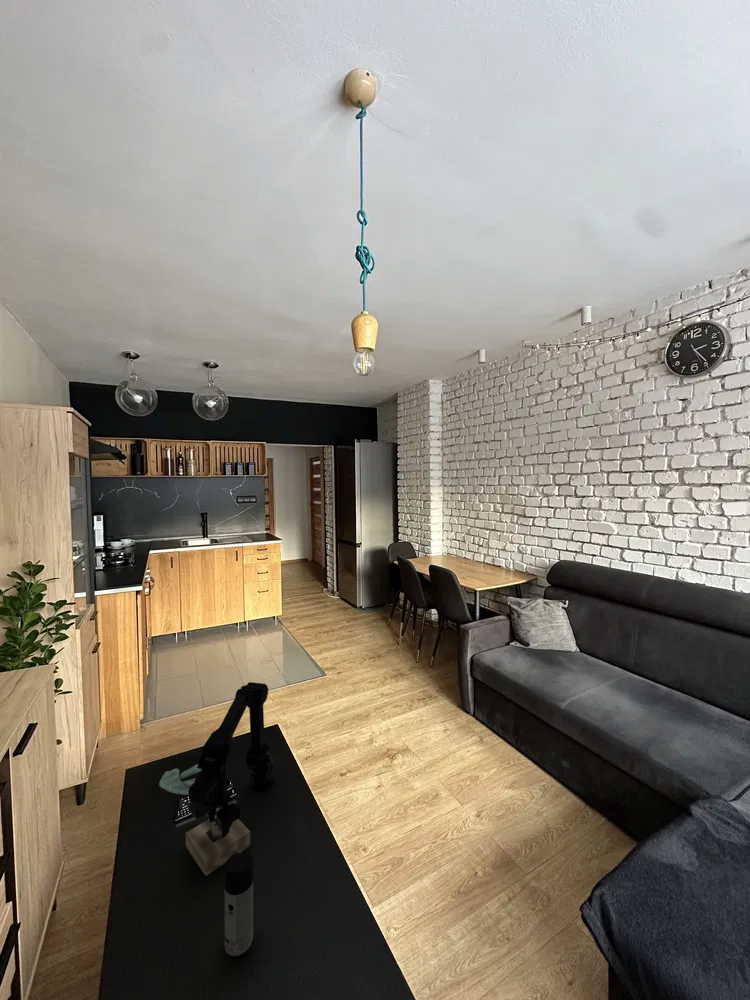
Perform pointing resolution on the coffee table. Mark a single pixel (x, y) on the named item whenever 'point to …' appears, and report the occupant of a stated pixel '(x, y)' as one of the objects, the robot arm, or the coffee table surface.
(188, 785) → the cloth
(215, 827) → the peg
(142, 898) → the coffee table surface
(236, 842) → the socket board
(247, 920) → the spray can
